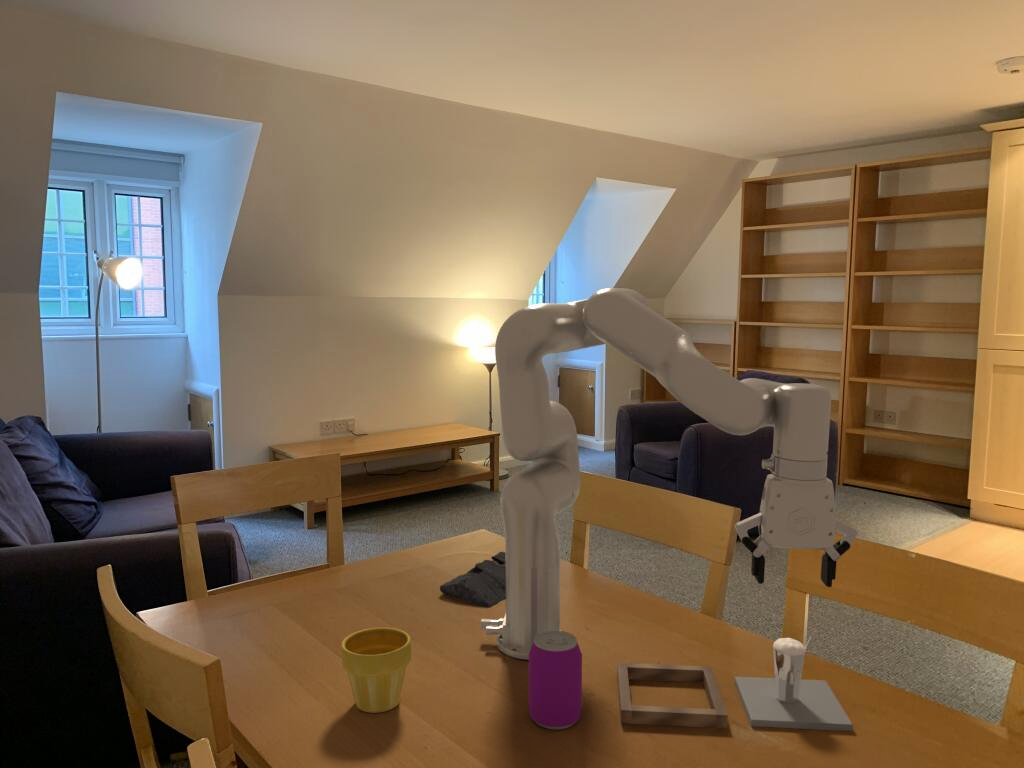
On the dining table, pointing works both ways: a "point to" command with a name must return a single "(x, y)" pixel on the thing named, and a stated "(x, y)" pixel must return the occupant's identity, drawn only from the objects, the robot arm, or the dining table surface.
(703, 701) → the dining table surface
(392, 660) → the plant pot
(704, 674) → the walnut collar
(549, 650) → the beverage can
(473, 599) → the dark slate chunk
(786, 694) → the milkshake
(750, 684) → the slate pad
